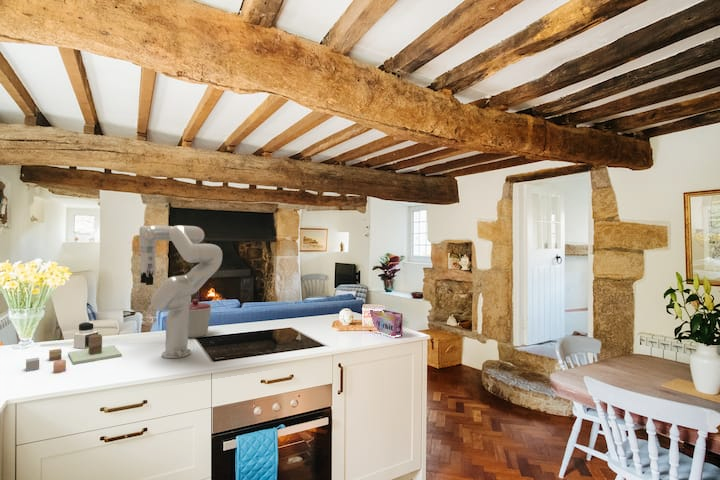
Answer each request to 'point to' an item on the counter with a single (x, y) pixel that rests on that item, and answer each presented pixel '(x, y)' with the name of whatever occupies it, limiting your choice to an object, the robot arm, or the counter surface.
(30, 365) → the stone cube
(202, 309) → the canister
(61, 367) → the terracotta cylinder
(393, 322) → the gum box
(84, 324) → the medicine bottle
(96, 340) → the walnut block
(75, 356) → the sage board
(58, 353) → the oak cube
